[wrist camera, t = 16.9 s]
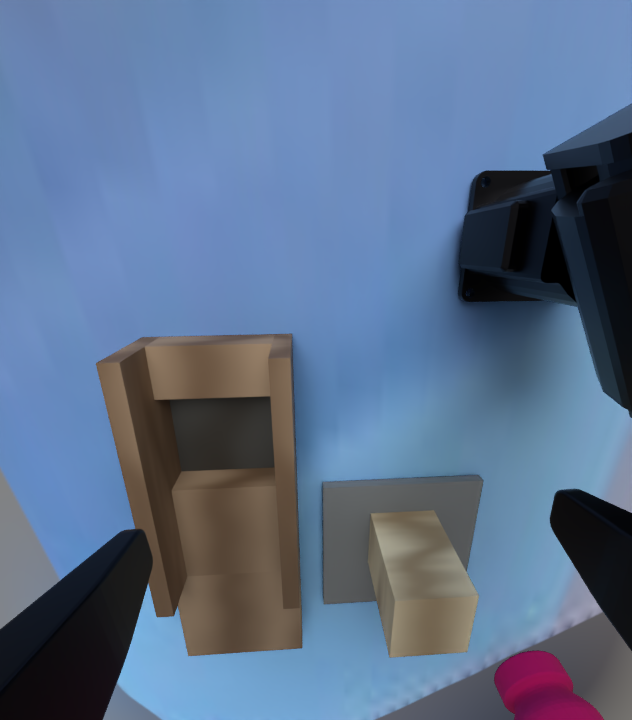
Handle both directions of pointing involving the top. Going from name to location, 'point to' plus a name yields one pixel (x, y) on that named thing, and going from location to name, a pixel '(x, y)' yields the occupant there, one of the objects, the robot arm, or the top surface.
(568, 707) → the pepper mill
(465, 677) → the top surface
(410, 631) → the maple block
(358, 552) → the slate pad
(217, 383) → the walnut trough
